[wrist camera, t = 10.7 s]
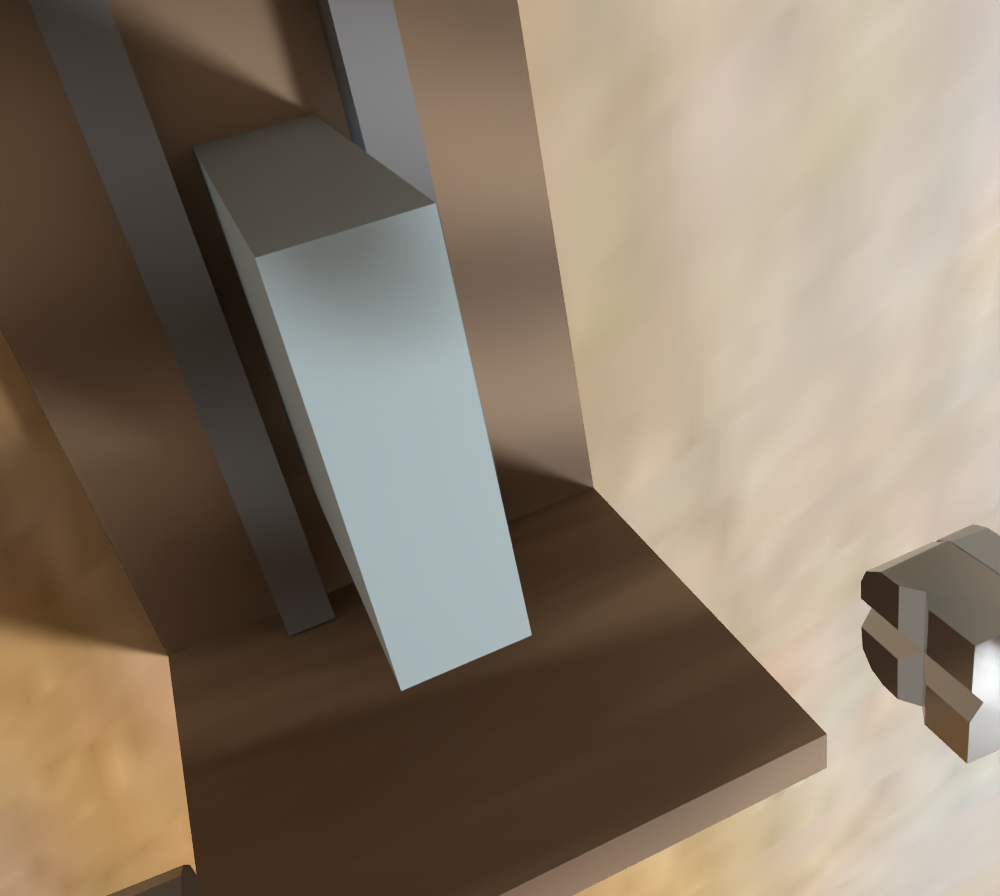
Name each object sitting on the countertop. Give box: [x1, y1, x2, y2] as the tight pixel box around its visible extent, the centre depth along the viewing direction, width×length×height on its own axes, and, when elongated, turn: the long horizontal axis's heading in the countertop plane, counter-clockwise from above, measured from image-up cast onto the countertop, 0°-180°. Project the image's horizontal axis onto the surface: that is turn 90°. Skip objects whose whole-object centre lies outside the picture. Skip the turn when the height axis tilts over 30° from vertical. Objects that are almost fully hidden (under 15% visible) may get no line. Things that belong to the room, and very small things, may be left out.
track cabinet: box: [0, 0, 827, 896], centre depth 17 cm, size 17×12×11 cm
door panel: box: [192, 114, 532, 691], centre depth 18 cm, size 8×2×8 cm, turn 11°
